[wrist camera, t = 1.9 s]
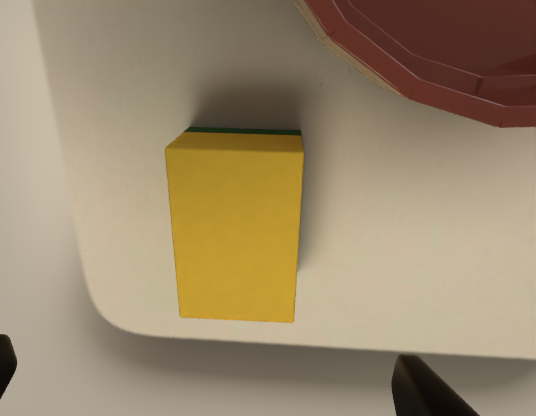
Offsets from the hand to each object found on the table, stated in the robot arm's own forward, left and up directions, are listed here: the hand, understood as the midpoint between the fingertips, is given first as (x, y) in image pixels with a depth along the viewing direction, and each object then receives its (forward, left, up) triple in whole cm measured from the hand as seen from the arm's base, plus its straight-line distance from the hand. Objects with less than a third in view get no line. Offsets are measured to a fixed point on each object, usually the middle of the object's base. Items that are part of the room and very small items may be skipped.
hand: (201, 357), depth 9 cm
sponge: (0, 0, -9) cm, 9 cm away
